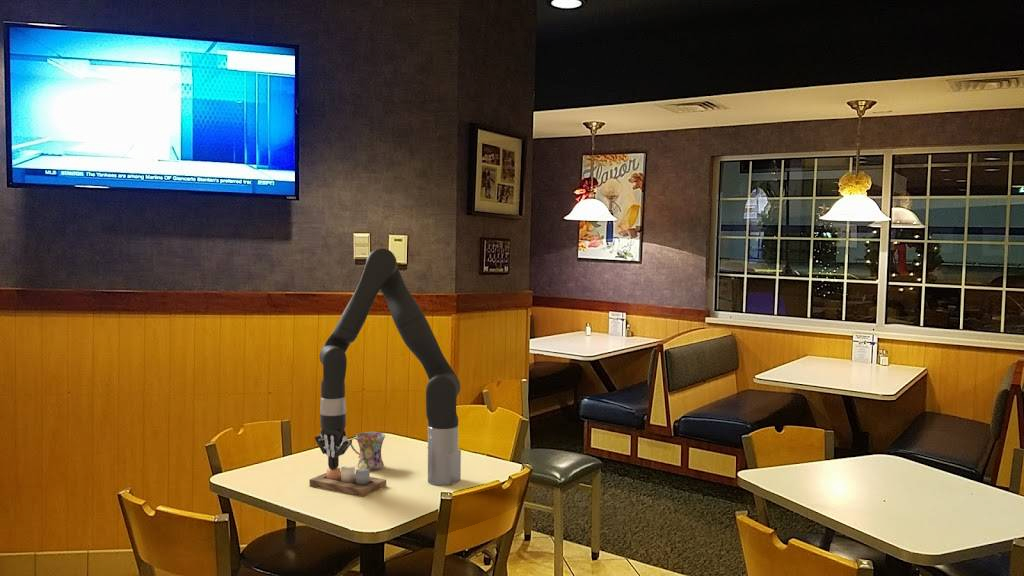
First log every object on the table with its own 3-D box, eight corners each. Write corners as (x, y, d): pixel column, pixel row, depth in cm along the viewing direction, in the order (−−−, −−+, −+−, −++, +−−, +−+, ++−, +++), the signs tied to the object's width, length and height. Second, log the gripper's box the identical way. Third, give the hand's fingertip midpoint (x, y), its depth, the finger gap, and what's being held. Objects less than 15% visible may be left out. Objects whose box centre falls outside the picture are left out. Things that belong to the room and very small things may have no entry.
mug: (390, 465, 259) (390, 433, 258) (376, 473, 250) (376, 440, 249) (357, 461, 262) (357, 430, 262) (343, 469, 254) (342, 436, 253)
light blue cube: (372, 482, 235) (372, 469, 235) (363, 486, 232) (363, 473, 231) (361, 480, 237) (361, 467, 237) (352, 484, 234) (352, 471, 233)
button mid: (357, 480, 238) (357, 467, 237) (348, 483, 234) (348, 470, 234) (346, 478, 240) (346, 465, 239) (338, 481, 236) (338, 468, 236)
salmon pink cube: (343, 481, 240) (343, 468, 240) (334, 484, 237) (334, 471, 237) (332, 479, 242) (332, 466, 242) (323, 482, 239) (323, 469, 238)
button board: (386, 486, 237) (386, 479, 237) (363, 496, 228) (363, 490, 227) (333, 476, 246) (333, 469, 246) (309, 486, 237) (309, 479, 237)
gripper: (358, 411, 238) (358, 468, 239) (324, 407, 244) (324, 462, 246) (342, 416, 232) (342, 475, 233) (307, 411, 238) (307, 468, 239)
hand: (333, 468), depth 239 cm, fingers closed
